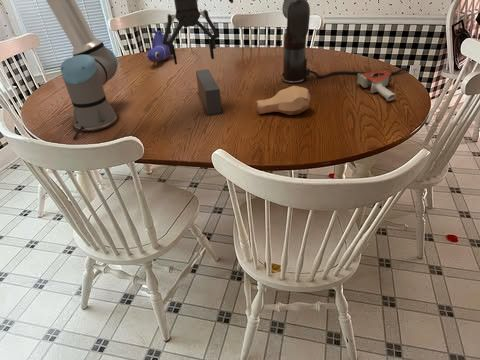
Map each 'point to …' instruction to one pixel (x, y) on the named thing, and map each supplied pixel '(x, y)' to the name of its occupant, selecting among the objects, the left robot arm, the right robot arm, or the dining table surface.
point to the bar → (208, 91)
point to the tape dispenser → (377, 83)
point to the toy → (158, 48)
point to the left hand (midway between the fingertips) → (194, 60)
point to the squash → (286, 101)
